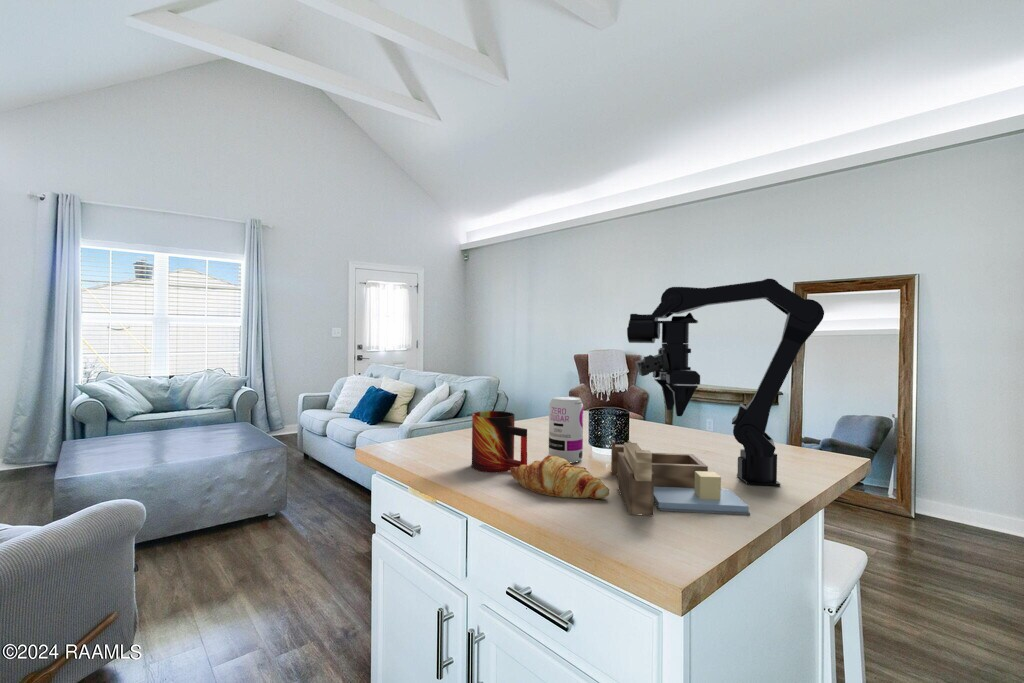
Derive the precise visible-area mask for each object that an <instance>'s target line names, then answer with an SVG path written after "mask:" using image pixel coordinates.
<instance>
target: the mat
mask: <svg viewBox="0 0 1024 683" xmlns="http://www.w3.org/2000/svg"><path fill="white" fill-rule="evenodd" d="M654 502H655V501H654ZM654 504H655V505H656V503H654ZM657 507H658V506H656V508H657ZM658 509H659V510H658ZM657 510H658V511H659V512H674V511H675V512H677V513H698V514H700V513H701V514H718V515H719V514H723V515H740V516H742V515H744V516H750V515H751V512H735V511H713V510H692V509H670V508H657ZM660 510H661V511H660Z"/></svg>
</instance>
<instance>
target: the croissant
mask: <svg viewBox="0 0 1024 683" xmlns="http://www.w3.org/2000/svg"><path fill="white" fill-rule="evenodd" d="M509 472H510V475H511V477H512V478H514V479H515V480H516V481H517V482H518V483H519V484H520V486H522V487H523V488H525V489H526V490H530V491H532V492H534V493H537V494H540V495H547V496H551V497H553V496H556V497H555V498H575V499H587V498H591V499H604V498H605V497H608V496H609V495H610V488H609V487H608V486H606V484H605V483H604V482H603V481H602V480H601V479H600V478H599V477H596V476H595V477H594V476H593V475H592V474H591V473H590V472H589V470H587V468H586V467H585V466H577V465H572V463H571V464H570V462H568V461H567V460H565V459H563V458H559V457H557V456H549V454H547V455H546V456H545V457H544V458H543V459H542V461H540V460H535V461H532V463H530V464H527V465H520V466H519V467H512V468H510V470H509Z"/></svg>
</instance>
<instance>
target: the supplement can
mask: <svg viewBox="0 0 1024 683" xmlns="http://www.w3.org/2000/svg"><path fill="white" fill-rule="evenodd" d="M548 409H549V411H548V412H549V414H548V415H549V416H548V455H549V456H557V457H559V458H563V459H565V460H567V461H568V462H576V461H579V460H580V461H581V460H582V459H583V455H584V454H583V452H584V451H583V449H584V448H583V446H584V445H583V442H584V436H583V435H584V431H583V430H584V404H583V401H582V399H581V397H577V396H568V395H567V396H565V395H564V396H563V395H562V396H561V395H560V396H553V397H551V400H550V402H549V405H548ZM580 461H579V462H580Z"/></svg>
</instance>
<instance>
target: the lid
mask: <svg viewBox="0 0 1024 683" xmlns="http://www.w3.org/2000/svg"><path fill="white" fill-rule="evenodd" d="M721 483H722V477H721V476H720V475H719V474H718V473H716V472H715V471H708V472H707V471H695V488H678V487H654V501H655V503H656V504H655V503H654V504H655V506H656V505H657V506H658V508H670V509H692V510H713V511H735V512H749V511H750V509H749V508H750V506H749V504H747V503H746V502H744V501H743V499H742V498H740V497H739V496H738V495H737V494H736V493H734V491H732V490H731V489H727V488H726V489H723V488H722V486H721V485H722V484H721ZM721 488H722V489H721ZM657 506H656V507H657ZM658 508H657V509H658ZM749 513H750V512H749Z"/></svg>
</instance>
